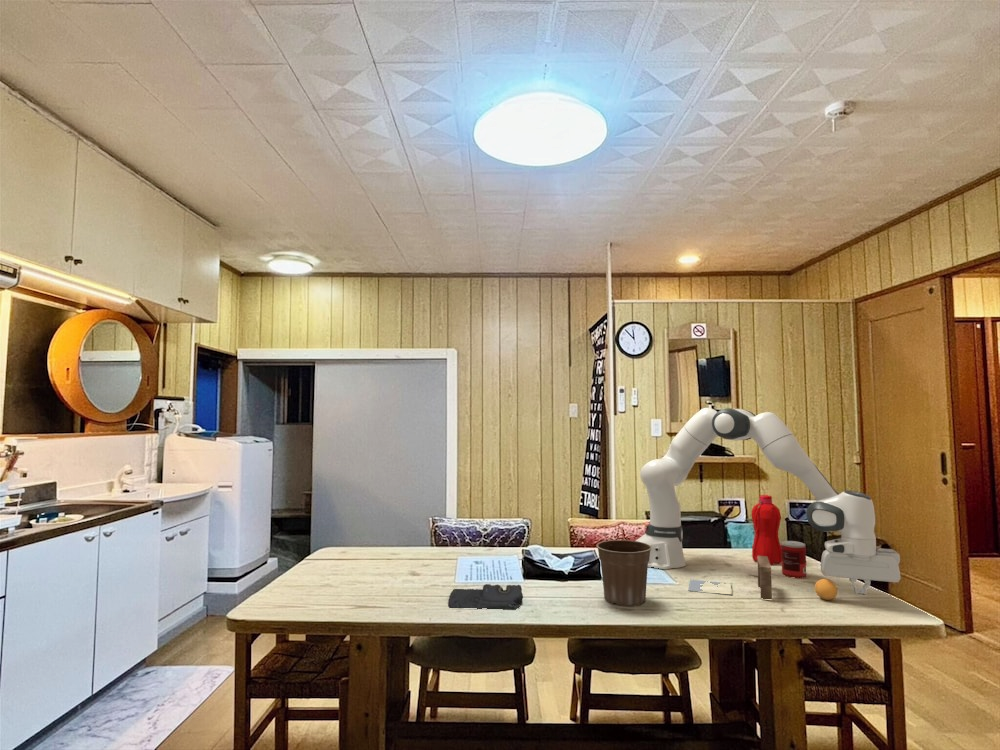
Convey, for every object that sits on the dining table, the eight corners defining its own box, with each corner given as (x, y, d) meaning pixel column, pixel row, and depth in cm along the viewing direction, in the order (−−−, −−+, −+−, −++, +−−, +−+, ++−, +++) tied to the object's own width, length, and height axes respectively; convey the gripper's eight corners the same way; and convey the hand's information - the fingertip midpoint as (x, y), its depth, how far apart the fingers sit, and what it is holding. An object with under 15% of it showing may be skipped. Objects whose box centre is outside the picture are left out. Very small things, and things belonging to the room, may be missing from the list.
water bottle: (745, 561, 223) (743, 494, 224) (765, 558, 227) (764, 493, 229) (765, 566, 214) (763, 497, 216) (786, 563, 219) (784, 496, 221)
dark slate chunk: (451, 594, 181) (451, 579, 182) (522, 595, 181) (522, 580, 181) (445, 611, 166) (446, 594, 167) (523, 612, 166) (523, 595, 166)
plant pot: (611, 611, 165) (611, 553, 166) (588, 594, 181) (587, 541, 182) (662, 606, 170) (661, 550, 171) (635, 590, 185) (634, 538, 186)
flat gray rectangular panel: (688, 590, 184) (688, 590, 184) (690, 580, 197) (690, 579, 197) (732, 595, 180) (732, 595, 180) (731, 584, 192) (731, 583, 192)
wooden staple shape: (761, 599, 176) (760, 566, 177) (758, 586, 190) (757, 555, 191) (772, 600, 175) (771, 567, 176) (768, 587, 189) (767, 556, 190)
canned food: (800, 572, 207) (800, 541, 207) (810, 579, 199) (809, 546, 199) (778, 572, 207) (777, 540, 208) (787, 578, 199) (786, 545, 200)
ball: (816, 601, 175) (816, 580, 175) (813, 595, 181) (813, 575, 181) (839, 603, 173) (838, 582, 173) (835, 597, 178) (835, 577, 179)
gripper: (896, 547, 174) (898, 594, 173) (819, 541, 181) (820, 587, 180) (902, 552, 168) (904, 601, 167) (822, 545, 175) (823, 593, 174)
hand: (860, 593), depth 174 cm, fingers closed
